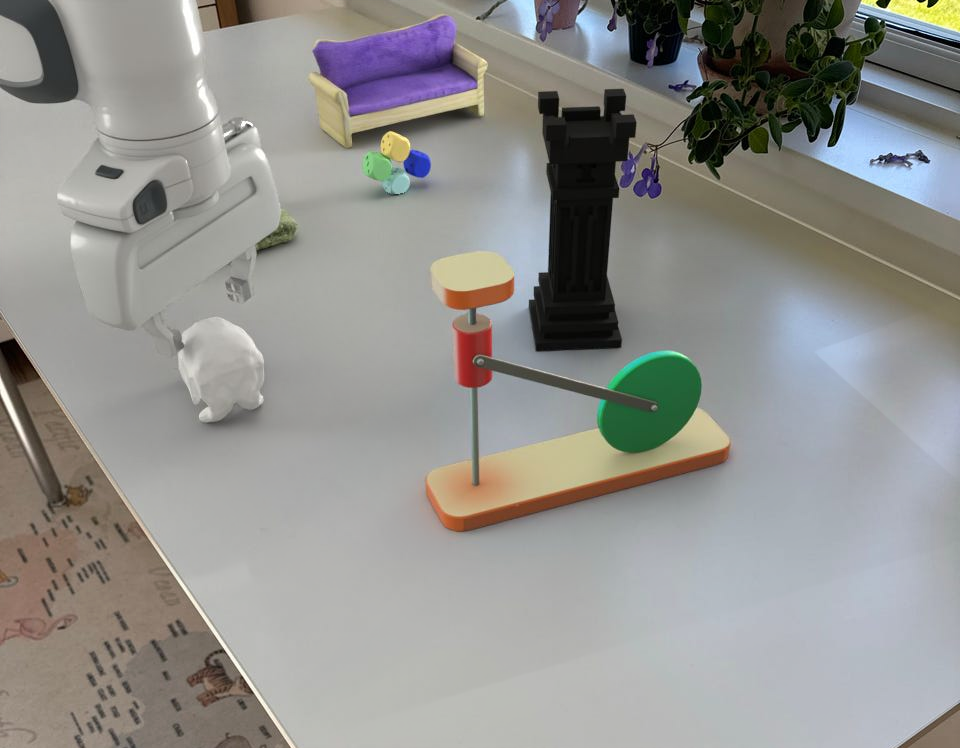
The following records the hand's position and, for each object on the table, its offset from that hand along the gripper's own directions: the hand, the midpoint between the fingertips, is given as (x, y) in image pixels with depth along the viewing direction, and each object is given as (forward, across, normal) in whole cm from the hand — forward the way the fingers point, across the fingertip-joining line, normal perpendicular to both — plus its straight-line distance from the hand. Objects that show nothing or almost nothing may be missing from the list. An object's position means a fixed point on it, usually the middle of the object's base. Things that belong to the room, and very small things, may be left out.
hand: (207, 324), depth 88 cm
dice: (+7, -43, -8) cm, 44 cm away
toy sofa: (+7, -60, -18) cm, 63 cm away
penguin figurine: (+7, 0, 0) cm, 7 cm away
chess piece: (+8, -24, +23) cm, 34 cm away
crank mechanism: (+8, -4, +33) cm, 34 cm away
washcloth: (+7, -23, -20) cm, 31 cm away
